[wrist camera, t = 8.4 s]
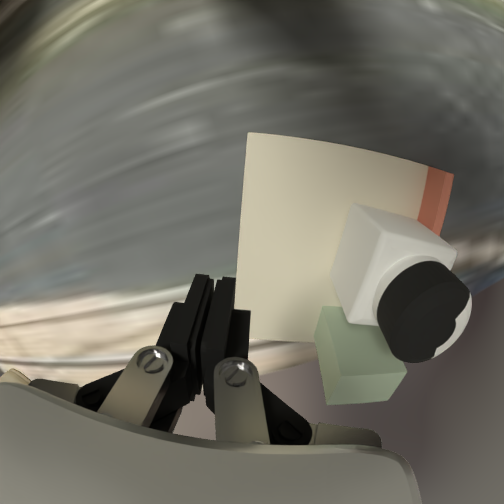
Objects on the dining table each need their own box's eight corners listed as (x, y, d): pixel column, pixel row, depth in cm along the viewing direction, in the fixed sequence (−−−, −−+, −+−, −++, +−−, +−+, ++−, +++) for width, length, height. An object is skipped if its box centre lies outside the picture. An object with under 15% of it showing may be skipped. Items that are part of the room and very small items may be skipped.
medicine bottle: (327, 275, 24) (364, 377, 14) (350, 200, 21) (422, 270, 11) (391, 285, 25) (446, 373, 14) (417, 219, 22) (500, 286, 11)
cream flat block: (248, 132, 20) (245, 132, 17) (437, 168, 20) (456, 175, 17) (232, 335, 28) (229, 355, 25) (381, 341, 28) (389, 359, 25)
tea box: (322, 305, 26) (341, 376, 18) (377, 308, 26) (408, 371, 18) (313, 335, 28) (326, 405, 19) (365, 336, 28) (389, 400, 19)
